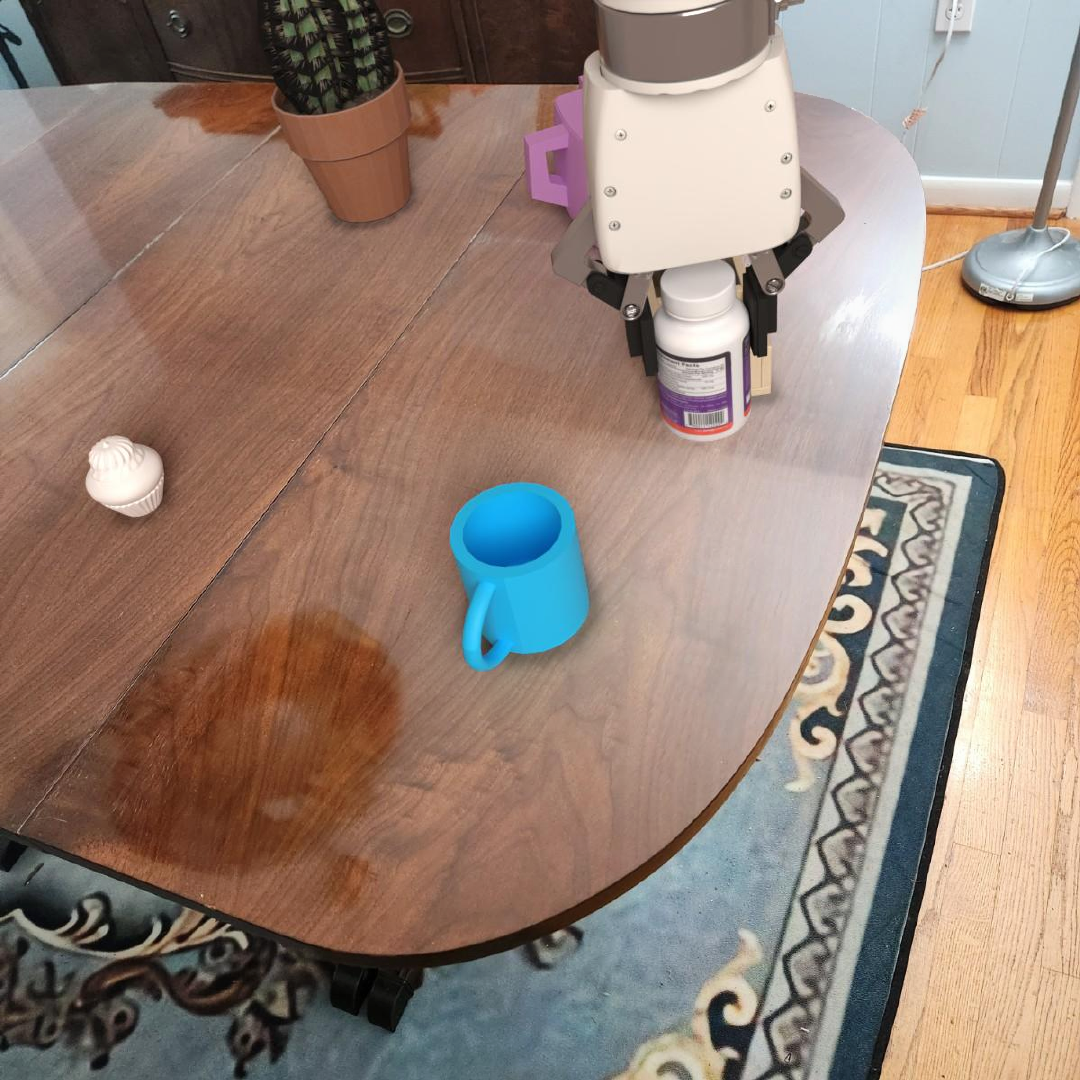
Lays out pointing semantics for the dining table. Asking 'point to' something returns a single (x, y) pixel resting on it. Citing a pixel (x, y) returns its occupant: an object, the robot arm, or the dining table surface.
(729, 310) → the pill bottle
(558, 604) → the mug
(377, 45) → the potted plant
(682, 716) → the dining table surface
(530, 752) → the dining table surface
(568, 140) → the teakettle
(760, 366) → the sorter
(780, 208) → the robot arm
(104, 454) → the muffin
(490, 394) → the dining table surface
